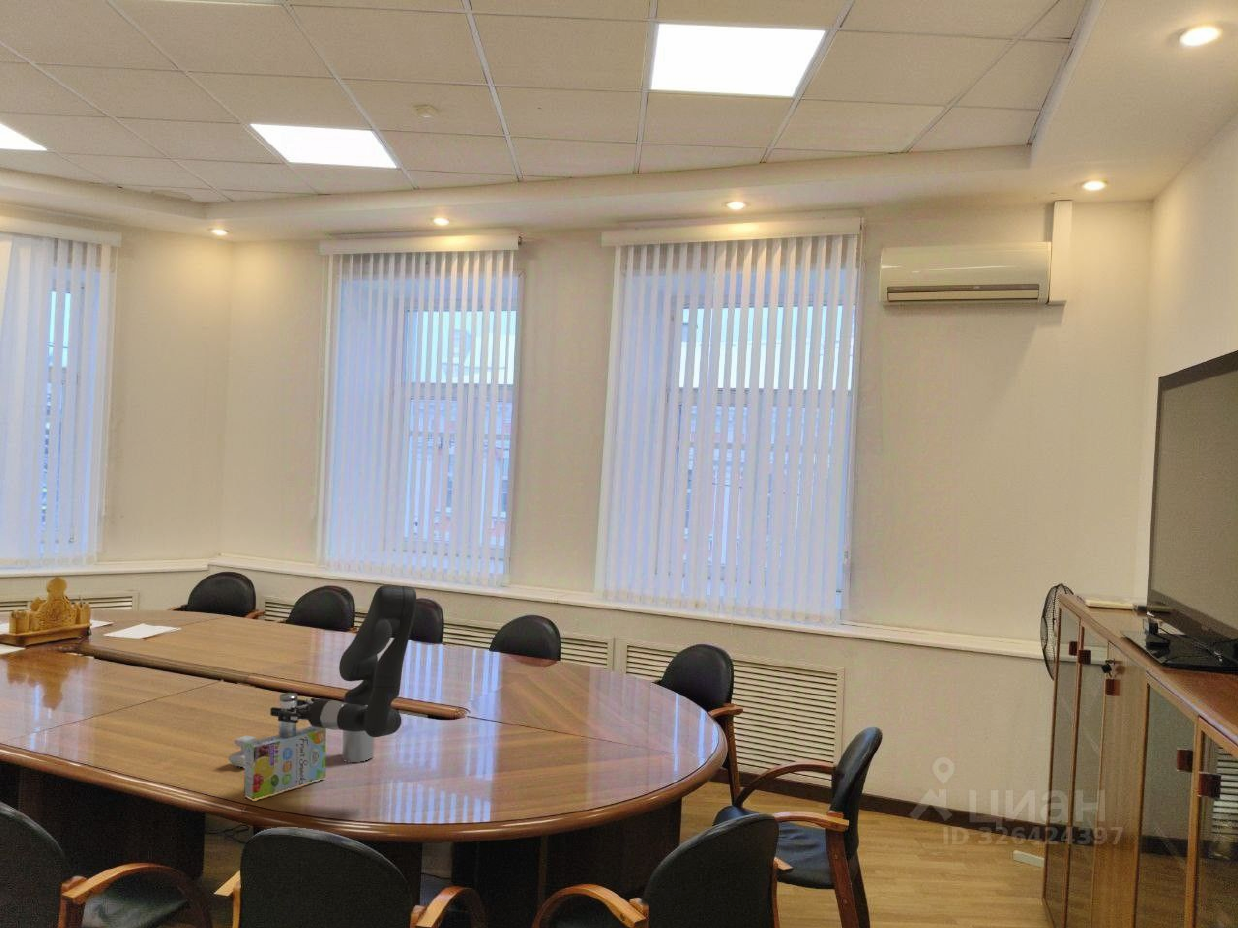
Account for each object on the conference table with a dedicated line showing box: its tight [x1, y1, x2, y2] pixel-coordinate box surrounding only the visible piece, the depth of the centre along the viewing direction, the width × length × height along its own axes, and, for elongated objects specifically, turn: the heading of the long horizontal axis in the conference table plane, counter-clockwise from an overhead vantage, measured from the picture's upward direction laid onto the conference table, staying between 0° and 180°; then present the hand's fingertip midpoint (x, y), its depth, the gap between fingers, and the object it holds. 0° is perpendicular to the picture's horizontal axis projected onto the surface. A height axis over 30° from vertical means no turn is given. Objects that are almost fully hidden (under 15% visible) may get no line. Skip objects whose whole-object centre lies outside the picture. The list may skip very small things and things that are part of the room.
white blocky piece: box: [228, 735, 257, 768], centre depth 243 cm, size 9×7×8 cm
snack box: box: [243, 725, 327, 799], centre depth 228 cm, size 21×6×15 cm, turn 141°
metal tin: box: [278, 692, 298, 738], centre depth 228 cm, size 5×5×11 cm
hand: (282, 706), depth 228 cm, fingers open, 8 cm apart
